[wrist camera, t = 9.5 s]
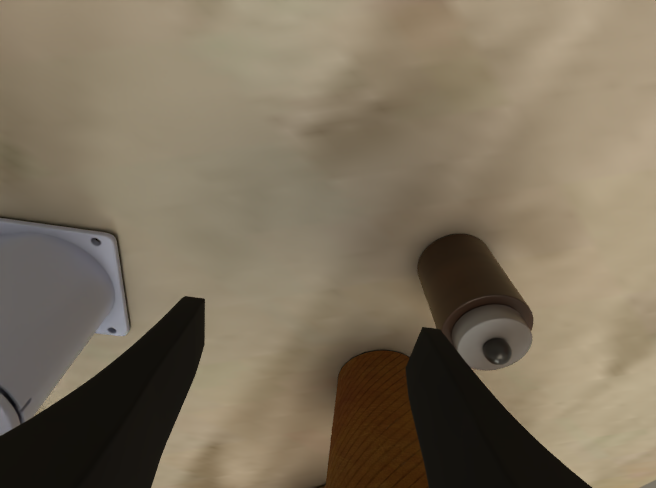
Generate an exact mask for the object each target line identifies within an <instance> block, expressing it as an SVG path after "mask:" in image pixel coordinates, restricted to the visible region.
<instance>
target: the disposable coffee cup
mask: <svg viewBox="0 0 656 488" xmlns="http://www.w3.org/2000/svg"><path fill="white" fill-rule="evenodd" d="M408 361H409V357H408V356H406V355H403V354H401V353H397V352H393V351H372V352H368V353H364V354H361V355H359V356H356V357H354V358H353V359H351V360H350V361H349V362H347V363H346V364H345V365H344V366H343V367H342V369H341V371H340V373H339V376H338V385H337V393H336V401H335V409H334V419H333V426H332V435H331V445H330V453H329V462H328V471H327V479H326V487H325V488H429V486H428V480H427V475H426V470H425V465H424V461H423V457H422V453H421V448H420V444H419V440H418V436H417V432H416V428H415V424H414V419H413V415H412V411H411V406H410V402H409V397H408V389H407V380H406V369H405V368H406V366H407V363H408Z"/></svg>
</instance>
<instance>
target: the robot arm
mask: <svg viewBox="0 0 656 488" xmlns="http://www.w3.org/2000/svg"><path fill="white" fill-rule="evenodd" d="M95 238H97V239H98V240H100V242H98V241H97V240H95ZM129 331H130V326H129V319H128V313H127V306H126V299H125V292H124V286H123V279H122V272H121V266H120V259H119V252H118V245H117V240H116V238H115V237H114V236H113V235H112V234H110V233H106V232H99V231H91V230H84V229H77V228H70V227H63V226H56V225H48V224H41V223H34V222H27V221H20V220H12V219H5V218H0V488H151V486H152V483H153V480H154V477H155V474H156V471H157V467H158V464H159V461H160V458H161V456H162V453H163V450H164V448H165V445H166V442H167V440H168V438H169V435H170V433H171V431H172V428H173V426H174V424H175V421H176V419H177V417H178V414H179V412H180V410H181V407H182V405H183V403H184V400H185V398H186V396H187V393H188V391H189V389H190V386H191V384H192V382H193V379H194V377H195V374H196V371H197V368H198V365H199V361H200V358H201V354H202V351H203V347H204V331H205V299H203V298H195V297H187V296H185V297H183V298H182V299H181V300H180V301H179V302H178V303H177V304H176V305H175V306H174V307H173V308H172V309H171V310H170V311H169V312H168V313H167V314H166V315H165V316H164V317H163V318H162V319H161V320H160V321H159V322H158V323H157V324H156V325H155V326H154V327H152V328H151V329H150V330H149V331H148V332H147V333H146V334H145V335H144V336H143V337H142V338H140V339H139V340H138V341H137V342H136V343H135V344H134V345H133V346H131V347H130V348H129V349H128V350H127V351H125V352H124V353H123V354H122V355H121V356H119V357H118V358H117V359H116V360H115V361H113V362H112V363H111V364H110V365H108V366H107V367H106V368H105V369H103V370H102V371H101V372H99V373H98V374H97V375H95V376H94V377H93V378H91V379H90V380H88V381H87V382H86V383H84V384H83V385H81V386H80V387H79V388H77V389H76V390H74V391H73V392H71V393H70V394H68V395H67V396H65V397H64V398H62V399H61V400H59V401H58V402H56V403H55V404H53V405H52V406H50V407H49V408H47V409H45V410H44V411H42V412H41V413H39V414H37V415H36V416H34V415H35V413H36V412H37V411H38V409H39V408H40V407H41V405H42V404H43V403H44V401H45V400H46V398H47V397H48V396H49V394H50V393H51V392H52V390H53V389H54V388H55V386H56V385H57V383H58V382H59V381H60V379H61V378H62V377H63V375H64V374H65V373H66V371H67V370H68V369H69V367H70V366H71V364H72V363H73V362H74V360H75V359H76V358H77V356H78V355H79V354H80V352H81V351H82V349H83V348H84V347H85V345H86V344H87V343H88V341H89V340H90V339H91V337H92V336H93V335H94V333H98V334H107V335H115V336H125V335H127V334H128V332H129ZM405 369H406V380H407V389H408V397H409V402H410V406H411V411H412V415H413V419H414V424H415V428H416V432H417V436H418V440H419V444H420V448H421V453H422V457H423V461H424V465H425V470H426V475H427V480H428V486H429V488H592V487H591V486H589V485H588V484H587V483H586V482H584V481H583V480H582V479H581V478H580V477H578V476H577V475H576V474H575V473H573V472H572V471H571V470H570V469H569V468H568V467H566V466H565V465H564V464H563V463H562V462H561V461H559V460H558V459H557V458H556V457H555V456H554V455H553V454H551V453H550V452H549V451H548V450H547V449H546V448H545V447H544V446H543V445H541V444H540V443H539V442H538V441H537V440H536V439H535V438H534V437H533V436H532V435H531V434H530V433H529V432H528V431H527V430H526V429H525V428H524V427H523V426H522V425H521V424H520V423H519V422H518V421H517V420H516V419H515V418H514V417H513V416H512V415H511V414H510V413H509V412H508V411H507V410H506V409H505V407H504V406H503V405H502V404H501V403H500V402H499V401H498V400H497V399H496V398H495V396H494V395H493V394H492V393H491V392H490V391H489V390H488V388H487V387H486V386H485V385H484V384H483V383H482V381H481V380H480V379H479V378H478V376H477V375H476V374H475V373H474V372H473V370H472V369H471V368H470V367H469V365H468V364H467V363H466V362H465V360H464V359H463V358H462V357H461V355H460V354H459V353H458V351H457V350H456V349H455V348H454V346H453V345H452V344H451V342H450V341H449V340H448V339H447V337H446V336H445V335H444V334H443V332H442V331H441V330H440V329H433V328H426V327H422V330H421V332H420V335H419V337H418V339H417V342H416V344H415V346H414V349H413V351H412V354H411V356H410V358H409V361H408V363H407V366H406V368H405ZM33 416H34V417H33ZM32 417H33V418H32Z"/></svg>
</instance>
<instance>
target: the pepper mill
mask: <svg viewBox="0 0 656 488" xmlns="http://www.w3.org/2000/svg"><path fill="white" fill-rule="evenodd" d="M418 276H419V279H420V281H421V284H422V287H423V290H424V293H425V296H426V299H427V301H428V304H429V307H430V310H431V313H432V316H433V319H434V321H435V324H436V327H437V329H440V330H441V331H442V332H443V334H444V335H445V336H446V337H447V339H448V340H449V341H450V342H451V344H452V345H453V346H454V348H455V349H456V350H457V351H458V353H459V354H460V355H461V357H462V358H463V359H464V360H465V362H466V363H467V364H468V365H469V367H471V368H473V369H477V370H496V369H501V368H504V367H507V366H509V365H511V364H513V363H515V362H517V361H518V360H520V359H521V358H522V357H523V356H524V355H525V354H526V353H527V352H528V350H529V348H530V346H531V344H532V333H531V330H532V327H533V315H532V312H531V310H530V308H529V307H528V305H527V304H526V302H525V301H524V299H523V298H522V297H521V295H520V294H519V292H518V291H517V289H516V288H515V286H514V285H513V283H512V282H511V281H510V279H509V278H508V276H507V275H506V273H505V272H504V270H503V269H502V268H501V266H500V265H499V263H498V262H497V260H496V259H495V257H494V256H493V254H492V253H491V252H490V250H489V249H488V247H487V246H486V244H485V243H484V242H483V241H481V240H480V239H478V238H476V237H474V236H471V235H466V234H455V235H449V236H446V237H443V238H441V239H438V240H437V241H435V242H433V243H432V244H431V245H430V246H428V247H427V248H426V250H425V251H424V252H423V254H422V255H421V257H420V259H419V262H418Z"/></svg>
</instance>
